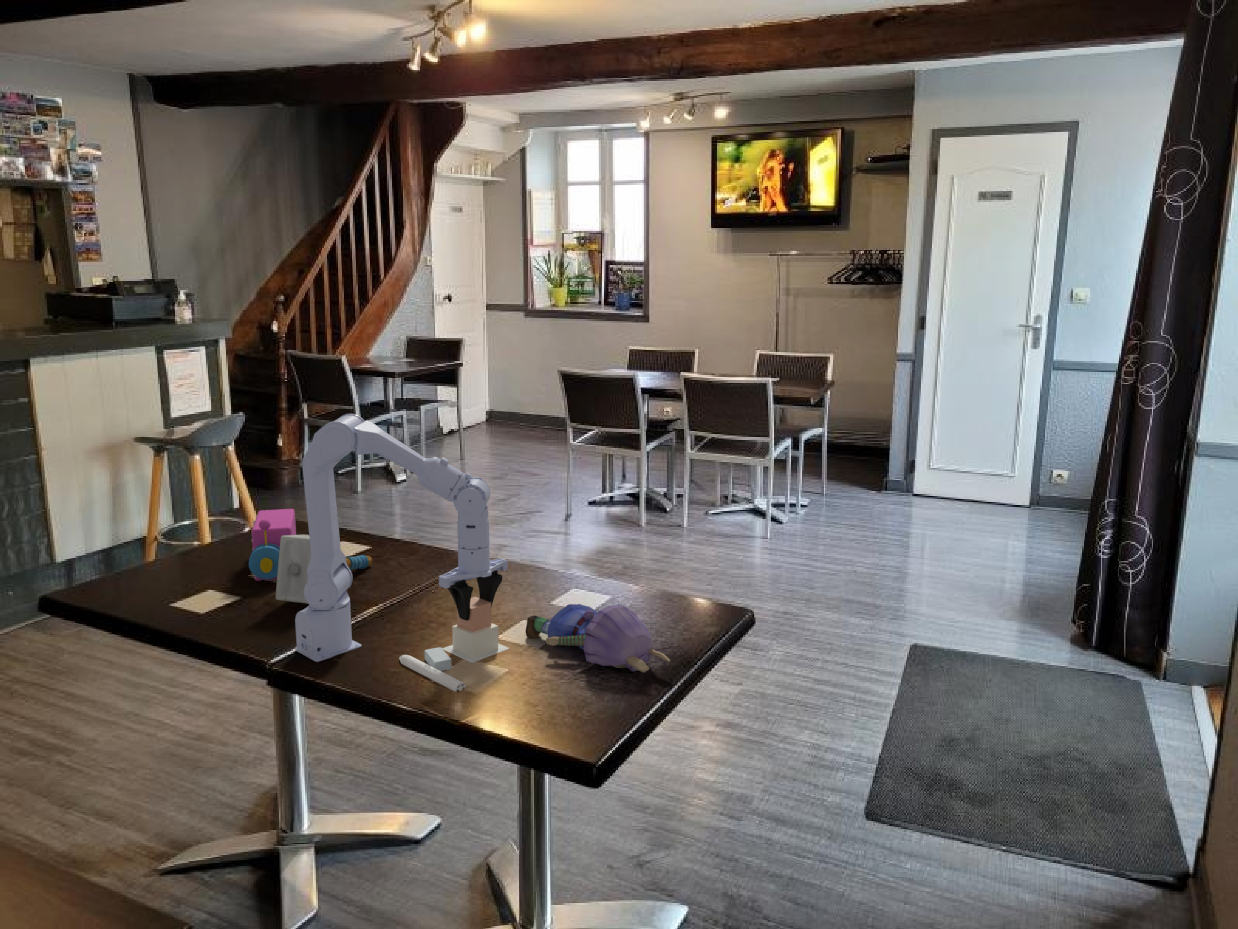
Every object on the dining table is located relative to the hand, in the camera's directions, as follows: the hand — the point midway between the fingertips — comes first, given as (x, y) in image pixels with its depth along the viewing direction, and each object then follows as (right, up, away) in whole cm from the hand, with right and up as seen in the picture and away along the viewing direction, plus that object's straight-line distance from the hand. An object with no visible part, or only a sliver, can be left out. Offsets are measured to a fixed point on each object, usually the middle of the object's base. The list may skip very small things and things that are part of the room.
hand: (475, 615), depth 170 cm
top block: (0, -2, +1) cm, 2 cm away
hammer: (-37, 0, +34) cm, 51 cm away
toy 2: (+23, -8, 0) cm, 25 cm away
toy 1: (-54, +3, +46) cm, 71 cm away
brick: (-6, -9, -5) cm, 12 cm away
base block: (0, -6, +1) cm, 7 cm away
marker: (-7, -10, -9) cm, 15 cm away
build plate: (0, -7, +1) cm, 7 cm away
